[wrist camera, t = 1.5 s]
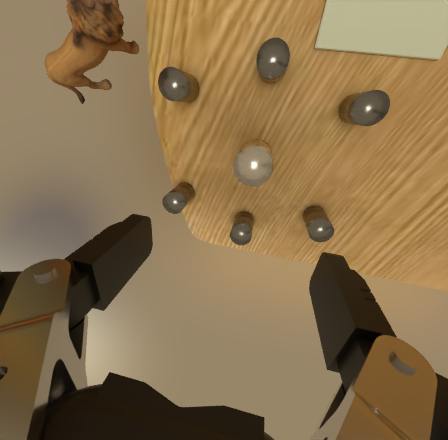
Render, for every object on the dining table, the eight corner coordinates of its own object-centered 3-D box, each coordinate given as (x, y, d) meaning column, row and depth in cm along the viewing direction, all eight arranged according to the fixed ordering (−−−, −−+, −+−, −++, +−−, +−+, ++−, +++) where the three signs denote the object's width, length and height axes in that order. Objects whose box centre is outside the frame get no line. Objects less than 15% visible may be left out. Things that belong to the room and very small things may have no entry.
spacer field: (385, 61, 22) (414, 50, 17) (314, 241, 33) (321, 261, 29) (176, 41, 24) (156, 27, 20) (176, 214, 35) (163, 229, 31)
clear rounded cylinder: (275, 142, 27) (277, 150, 22) (268, 174, 29) (268, 188, 24) (242, 137, 28) (236, 143, 23) (237, 169, 30) (231, 182, 25)
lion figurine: (122, -23, 23) (44, -92, 15) (158, 22, 24) (104, -20, 16) (70, 88, 29) (-3, 81, 21) (101, 119, 30) (43, 123, 23)
